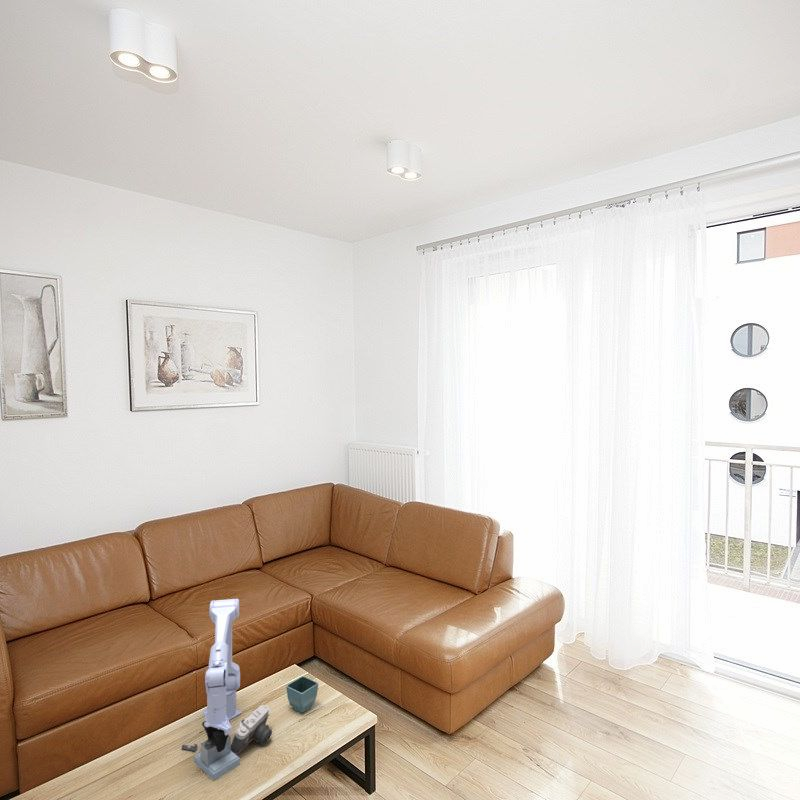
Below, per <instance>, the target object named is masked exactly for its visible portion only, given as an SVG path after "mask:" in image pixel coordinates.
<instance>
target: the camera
mask: <svg viewBox="0 0 800 800" xmlns="http://www.w3.org/2000/svg"><path fill="white" fill-rule="evenodd" d="M270 713H271V708H270V707H269V705H266V704H264V705H262V704H260V705H259V706H257V708H256V709H254V711H253V712H252V713H251V714H250V715H249V716H248V717H247V718H243V719H242V720H241V721H240V722H238V723H239V724H238V725H239V727H238V728H237V729H235V733H234V736H233V738H232V740H231V751H232V752H233V753H234V754H236V755H238V754H240V753H241V751H243V750H244V748H246V747H247V746H248V745H249V744H250V743H251V742H252V741H253V740H255V741H256V743H260V745H262V746H263V745H265V744H266V743H267V742H268V741H269V740H270V738H271V737H272V733H273V730H272V729H271V728H270V726H269V724H266V723H267V721H268V718H269V715H270Z"/></svg>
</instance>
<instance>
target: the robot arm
mask: <svg viewBox="0 0 800 800" xmlns="http://www.w3.org/2000/svg"><path fill="white" fill-rule="evenodd" d="M208 611H209V618H210V619H211V623H213V624H215V628H214V629H215V630H214V643H213V645H211V646H210V651H209V659H208V668H207V669H206V671H205V676H204V677H205V678H204V685H205V693H206V699H207V700H206V703H207V705H206V706H207V707H206V708H204V709H203V710H202V717H203V718H204V719H205V721H202V723H201V725H202V728H203V729H204V731H205V733H206V737H207V740H208V739H210V738H212V737H213V736H214V737H215V739H216V745H217V751H218V752H221V751H222V750H224V749H225V745H226V741H227V738H228V735H229V736H230V734H231V733H233V728H232V727H233V726H232V725H231V724H230V721H231V720H233V719H234V718H236V717H237V716H240V715H241V714H242V711H241V710H239V709H238V708H237V690H239V688H240V686H241V670H240V669H241V668H240V665H239V664H237V663H235V661H233V622H234V621H235V620H236V618H239V616H240V599H239V598H230V599H218V600H215V599H213V600H211V601H210V603H209V610H208Z"/></svg>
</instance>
